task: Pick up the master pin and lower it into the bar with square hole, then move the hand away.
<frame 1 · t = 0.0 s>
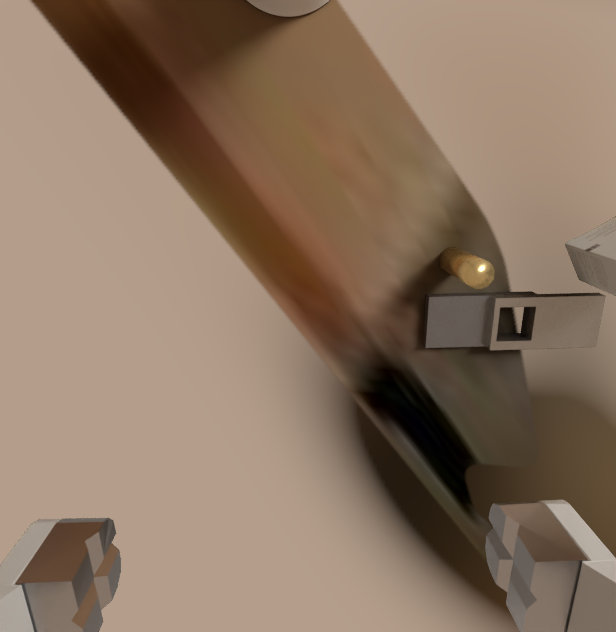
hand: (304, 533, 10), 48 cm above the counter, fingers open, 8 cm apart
skincare box: (597, 248, 57), on the counter
bar with square hole: (505, 317, 60), on the counter
master pin: (451, 259, 57), on the counter
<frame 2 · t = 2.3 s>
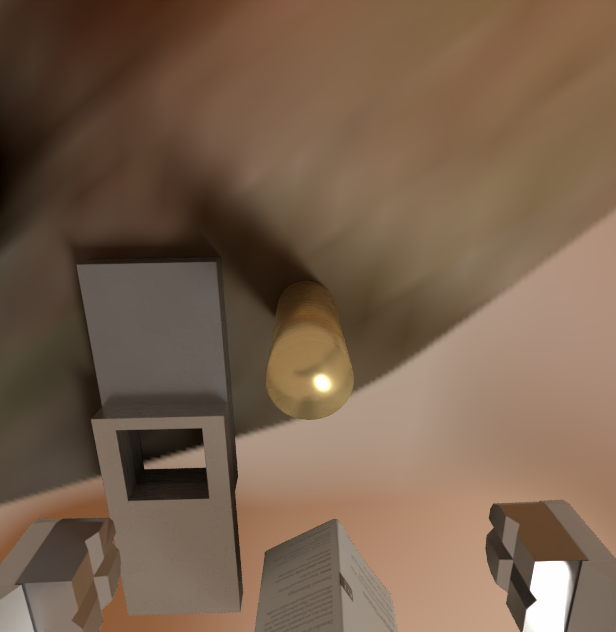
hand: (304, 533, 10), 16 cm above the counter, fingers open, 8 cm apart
skincare box: (325, 568, 31), on the counter
bar with square hole: (177, 436, 27), on the counter
master pin: (305, 308, 25), on the counter
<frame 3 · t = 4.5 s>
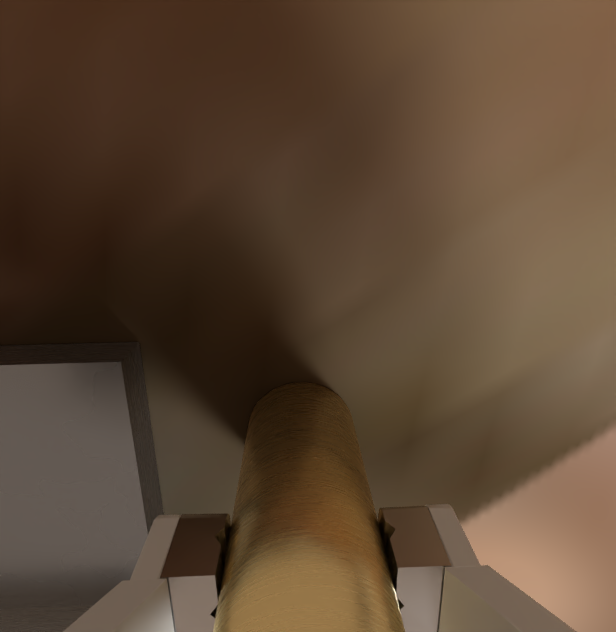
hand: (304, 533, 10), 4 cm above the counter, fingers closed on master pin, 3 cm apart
master pin: (300, 429, 14), on the counter, touching gripper
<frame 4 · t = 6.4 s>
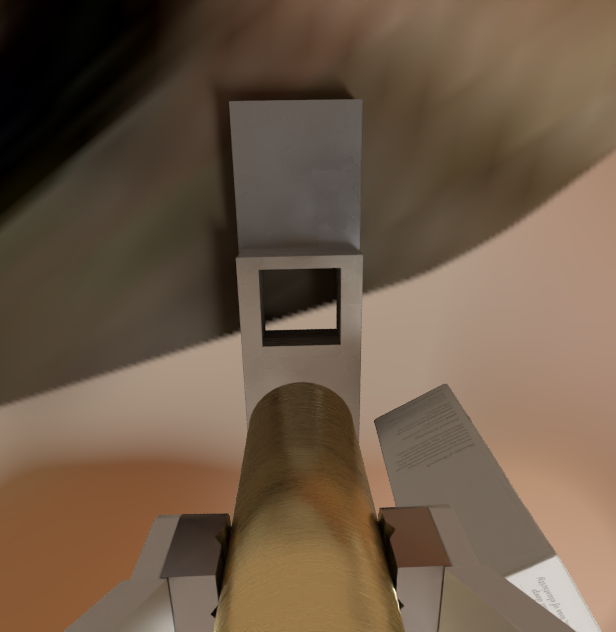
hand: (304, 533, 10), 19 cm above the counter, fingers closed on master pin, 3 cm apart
skincare box: (429, 439, 32), on the counter
bar with square hole: (300, 295, 28), on the counter
master pin: (301, 429, 14), point 15 cm above the counter, touching gripper
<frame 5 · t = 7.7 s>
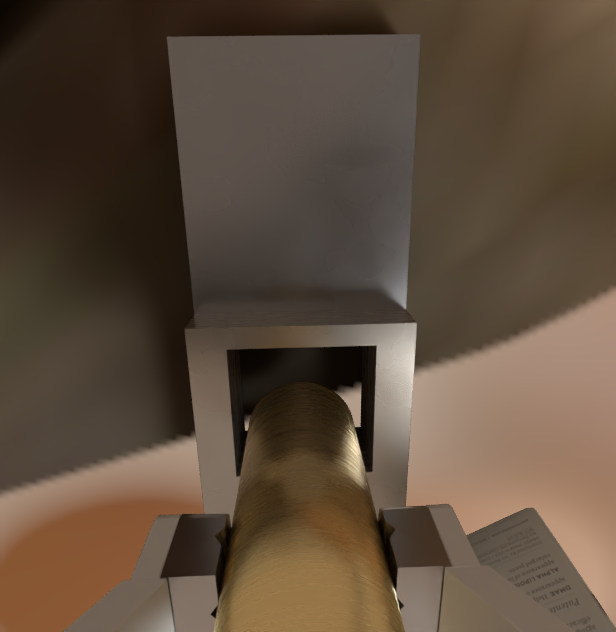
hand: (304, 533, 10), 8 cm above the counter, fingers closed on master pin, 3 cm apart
skincare box: (499, 582, 21), on the counter
bar with square hole: (301, 376, 17), on the counter
master pin: (301, 429, 14), point 4 cm above the counter, touching gripper
when the fingers open (5 cm above the counter, at t = 8.8 s): master pin stays where it is, resting in bar with square hole.
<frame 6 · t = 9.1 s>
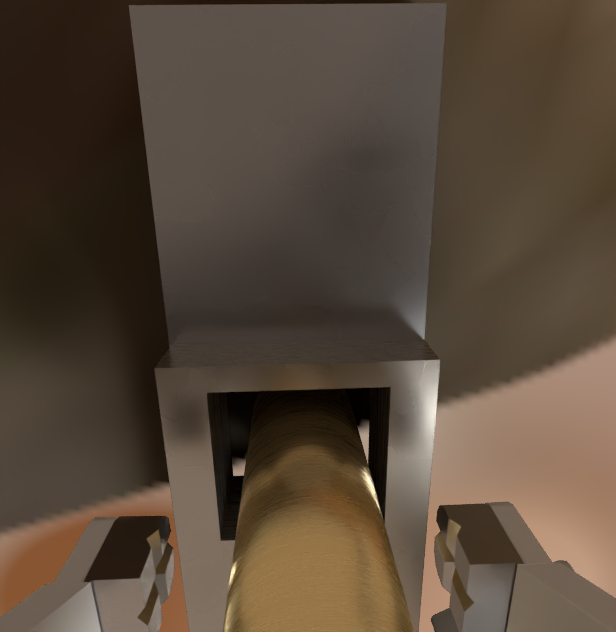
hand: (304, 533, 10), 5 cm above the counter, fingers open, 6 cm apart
bar with square hole: (299, 413, 14), on the counter
master pin: (302, 413, 14), resting in bar with square hole
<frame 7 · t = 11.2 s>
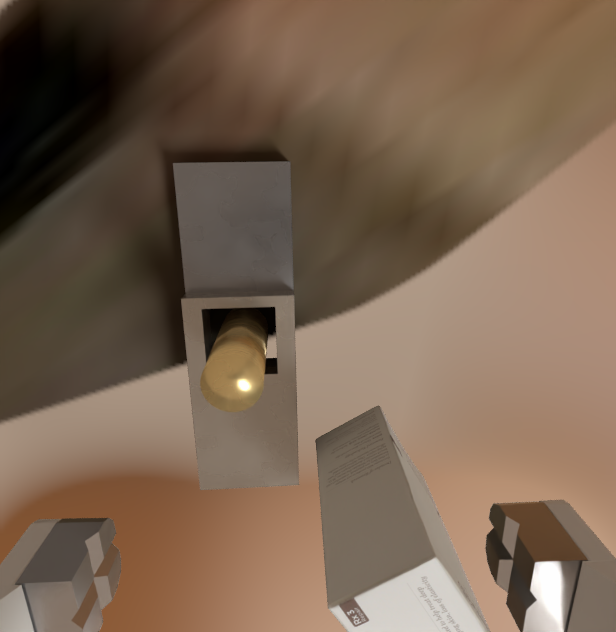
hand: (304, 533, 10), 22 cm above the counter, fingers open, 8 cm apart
skincare box: (366, 456, 35), on the counter
bar with square hole: (244, 328, 31), on the counter
master pin: (245, 328, 31), resting in bar with square hole
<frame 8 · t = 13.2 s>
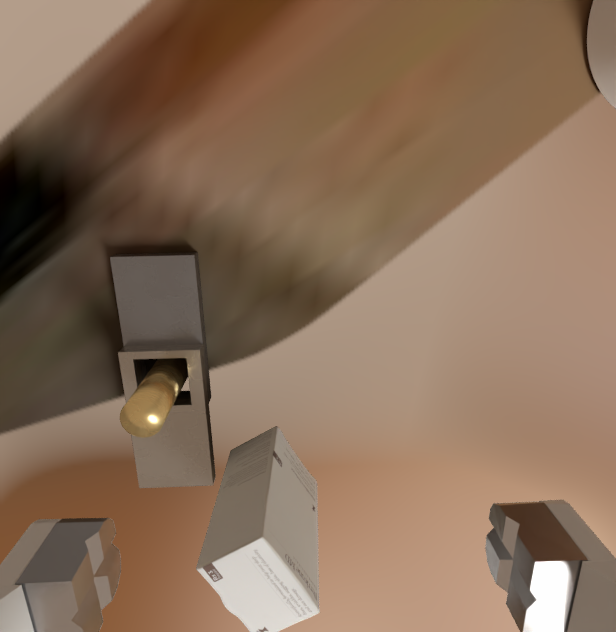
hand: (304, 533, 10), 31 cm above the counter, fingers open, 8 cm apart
skincare box: (271, 463, 46), on the counter
bar with square hole: (171, 369, 42), on the counter
master pin: (172, 369, 42), resting in bar with square hole
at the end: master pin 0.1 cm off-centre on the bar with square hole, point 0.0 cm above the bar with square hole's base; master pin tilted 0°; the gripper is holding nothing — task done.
